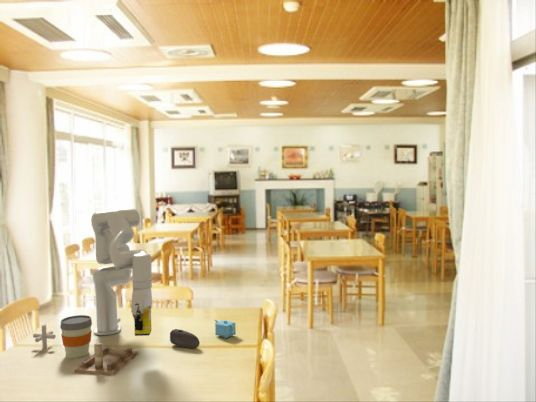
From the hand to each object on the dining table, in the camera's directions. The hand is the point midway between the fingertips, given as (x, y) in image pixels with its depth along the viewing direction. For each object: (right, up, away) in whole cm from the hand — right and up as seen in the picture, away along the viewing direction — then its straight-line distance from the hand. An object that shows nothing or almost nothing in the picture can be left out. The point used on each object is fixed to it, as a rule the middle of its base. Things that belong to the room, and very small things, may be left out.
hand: (142, 326), depth 200 cm
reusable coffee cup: (-30, -14, +9) cm, 35 cm away
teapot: (+30, -12, +29) cm, 44 cm away
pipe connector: (-48, -14, +17) cm, 53 cm away
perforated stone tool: (+15, -13, +16) cm, 25 cm away
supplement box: (0, -3, 0) cm, 3 cm away
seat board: (-14, -14, -1) cm, 20 cm away
